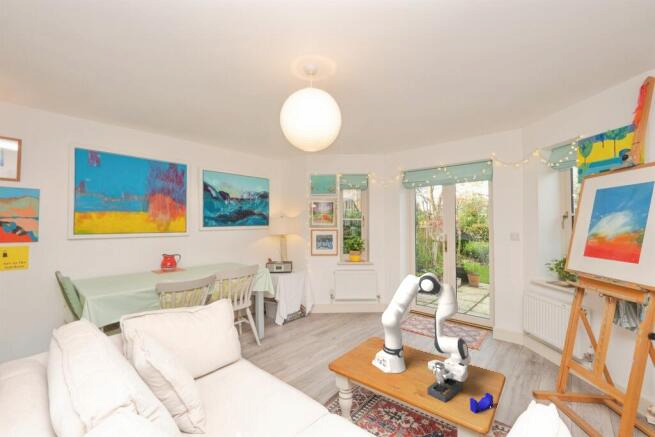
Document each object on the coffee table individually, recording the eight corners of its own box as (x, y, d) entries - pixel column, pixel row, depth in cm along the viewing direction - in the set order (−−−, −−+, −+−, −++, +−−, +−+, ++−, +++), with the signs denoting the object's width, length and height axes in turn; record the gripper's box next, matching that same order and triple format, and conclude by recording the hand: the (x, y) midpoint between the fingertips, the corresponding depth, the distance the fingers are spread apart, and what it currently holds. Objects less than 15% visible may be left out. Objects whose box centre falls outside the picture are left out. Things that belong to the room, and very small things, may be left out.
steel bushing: (434, 388, 157) (433, 364, 157) (438, 385, 160) (437, 361, 160) (442, 392, 153) (441, 367, 153) (447, 388, 156) (446, 364, 157)
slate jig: (427, 394, 158) (427, 387, 158) (445, 381, 170) (444, 375, 170) (445, 402, 150) (444, 395, 150) (462, 388, 162) (461, 381, 162)
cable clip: (485, 402, 149) (485, 390, 149) (493, 407, 145) (492, 395, 145) (467, 408, 145) (467, 396, 145) (475, 414, 141) (474, 401, 141)
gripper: (434, 354, 173) (421, 362, 164) (469, 367, 157) (457, 376, 149) (435, 365, 173) (422, 373, 164) (470, 378, 157) (458, 388, 148)
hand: (439, 375), depth 156 cm, fingers closed on steel bushing, 4 cm apart
